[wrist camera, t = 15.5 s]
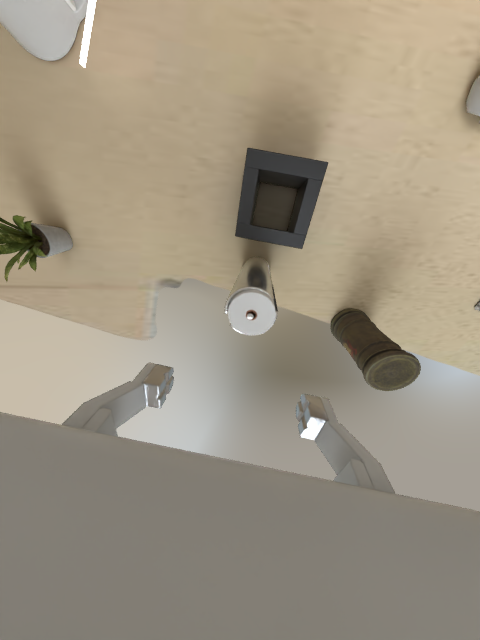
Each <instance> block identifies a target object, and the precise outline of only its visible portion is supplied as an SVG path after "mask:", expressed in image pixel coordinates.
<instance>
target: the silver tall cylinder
mask: <svg viewBox="0 0 480 640" xmlns="http://www.w3.org/2000/svg"><path fill="white" fill-rule="evenodd" d="M225 313H228V318H229V321H230V326H231V327H232V328H233V329H234V330H236V331H238V332H239V333H242V334H245V335H260V334H262V333H265V332H266V331H267V330H269V329H270V328H271V327H272V326H273V324H274V323H275V321H276V319H277V314H278V310H277V304H276V299H275V294H274V289H273V284H272V279H271V274H270V268H269V265H268V263H267V262H266V260H264V259H263V258H261V257H251V258H250V259H248V260H247V261H246V262H245V263H244V265H243V267H242V269H241V271H240V273H239V275H238V278H237V280H236V282H235V284H234V286H233V288H232V290H231V292H230V294H229V297H228V299H227V301H226V304H225Z"/></svg>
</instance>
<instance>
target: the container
mask: <svg viewBox="0 0 480 640" xmlns="http://www.w3.org/2000/svg"><path fill="white" fill-rule="evenodd" d="M331 332H332V334H333V336H335V338H336V339H337V340H338V341H340V342H341V344H342V345H343V346H344V347H345V348H346V350H347V351H348V352H349V354H350V355H351V357H352V358H353V359H354V361H355V362H356V364H357V366H358V368H359V369H360V370H362V373H363V375H364V379H365V381H366V382H367V383H368V384H369V385H370V386H371V387H373V388H375V389H377V390H382V391H392V390H397V389H401V388H404V387H406V386H407V385H409V384H411V383H412V382H413V381H415V379H416V378H417V377H418V375H419V374H420V370H421V366H420V363H419V361H418V359H417V358H416V357H415V356H414V355H412V354H410V353H408V352H406V351H404V350H402V349H401V347H400V346H399V345H398V344H396V343H394V342H393V341H392V340H391V339H389V338H388V337H387V336H386V335H385V334H384V333H382V332H381V331H380V330H379V329H378V328H377V327H376V325H375V324H374V323H373V322H371V320H370V319H369V317H368V316H367V315H366V314H365V313H364V312H362V311H360V310H357V309H346V310H343V311H341V312H340V313H338V314H337V315H336V316H335V317H334V318H333V320H332V322H331Z"/></svg>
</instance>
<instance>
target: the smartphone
mask: <svg viewBox="0 0 480 640" xmlns="http://www.w3.org/2000/svg"><path fill="white" fill-rule="evenodd" d="M475 309H476V310H479V311H480V302H479V303H478V304H477V305H476V306H475Z"/></svg>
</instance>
